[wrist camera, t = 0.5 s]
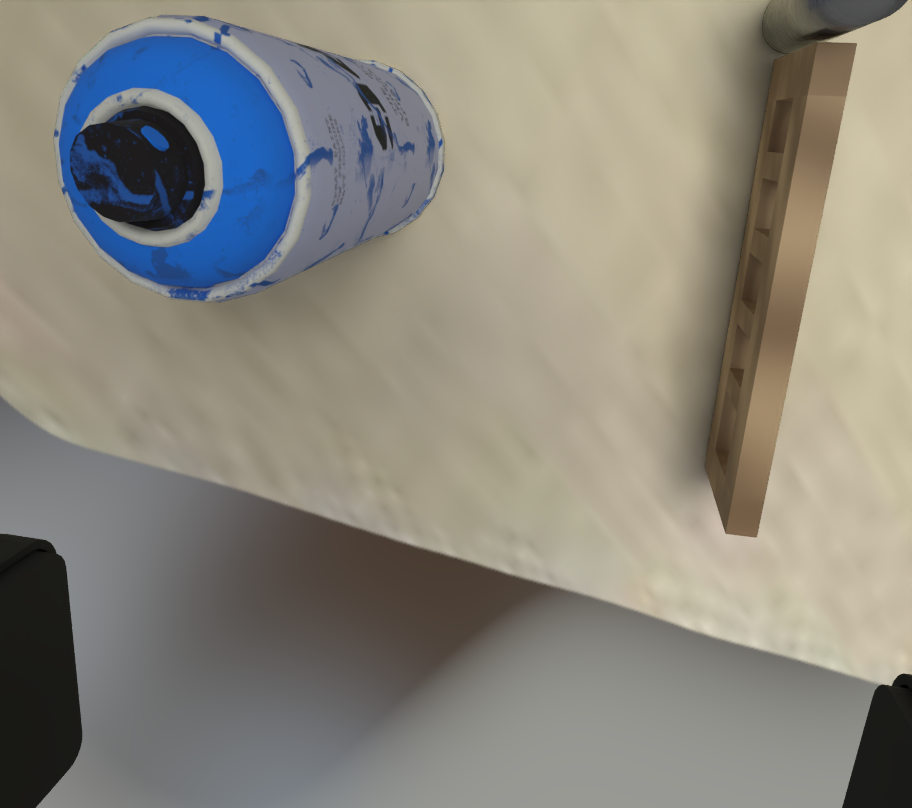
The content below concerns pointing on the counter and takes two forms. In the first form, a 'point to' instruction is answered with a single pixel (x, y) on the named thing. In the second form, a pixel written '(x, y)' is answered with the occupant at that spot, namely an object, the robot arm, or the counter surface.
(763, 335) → the gate
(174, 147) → the aerosol can
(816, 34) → the teal elongated shape
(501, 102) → the counter surface
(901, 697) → the robot arm
